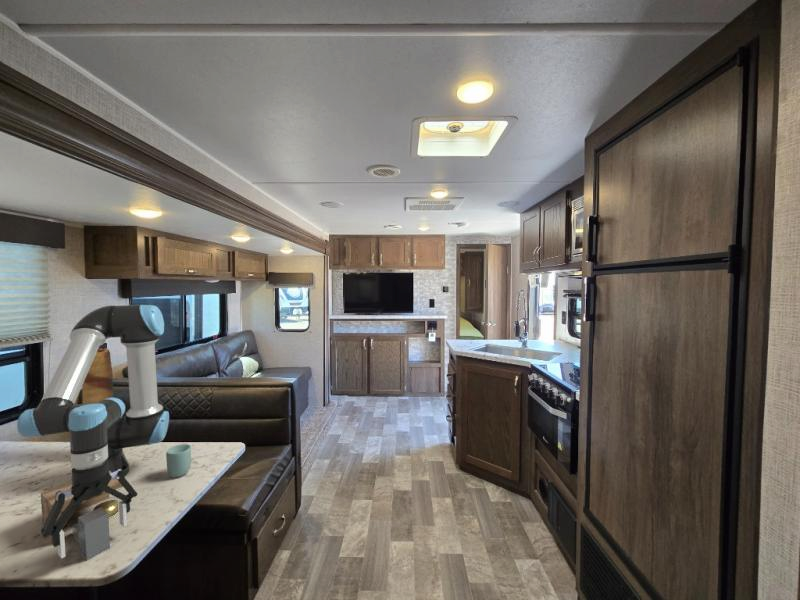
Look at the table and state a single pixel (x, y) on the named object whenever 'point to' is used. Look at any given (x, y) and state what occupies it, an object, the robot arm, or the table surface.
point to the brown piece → (49, 498)
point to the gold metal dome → (109, 507)
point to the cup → (178, 460)
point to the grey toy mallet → (92, 533)
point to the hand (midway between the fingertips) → (94, 539)
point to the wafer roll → (98, 379)
